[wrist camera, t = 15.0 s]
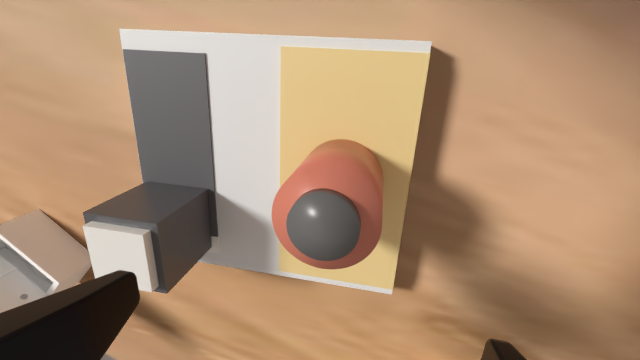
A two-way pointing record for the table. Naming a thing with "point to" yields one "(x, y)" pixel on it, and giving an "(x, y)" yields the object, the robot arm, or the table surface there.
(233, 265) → the board
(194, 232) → the block
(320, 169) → the cap
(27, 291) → the white angled block
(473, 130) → the table surface
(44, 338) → the robot arm
